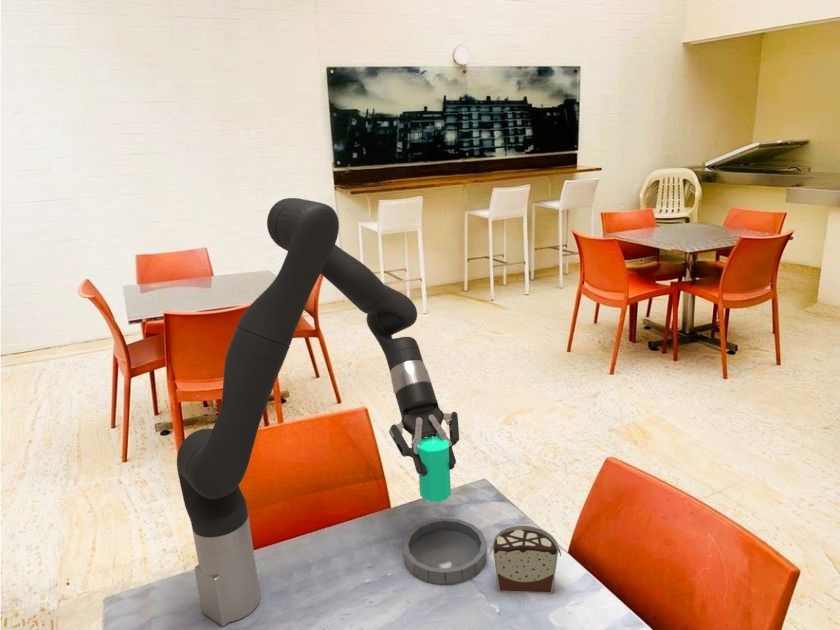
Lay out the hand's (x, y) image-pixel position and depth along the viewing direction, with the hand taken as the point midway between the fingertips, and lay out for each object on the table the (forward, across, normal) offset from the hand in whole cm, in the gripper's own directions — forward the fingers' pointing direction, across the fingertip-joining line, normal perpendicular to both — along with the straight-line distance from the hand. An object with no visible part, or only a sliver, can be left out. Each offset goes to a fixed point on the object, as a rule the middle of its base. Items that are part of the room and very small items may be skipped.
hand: (438, 471), depth 110 cm
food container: (+22, +12, +6) cm, 25 cm away
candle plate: (+13, +1, +14) cm, 19 cm away
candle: (+3, 0, +6) cm, 6 cm away
